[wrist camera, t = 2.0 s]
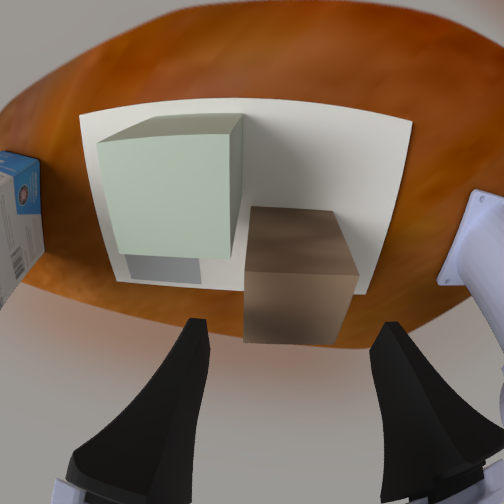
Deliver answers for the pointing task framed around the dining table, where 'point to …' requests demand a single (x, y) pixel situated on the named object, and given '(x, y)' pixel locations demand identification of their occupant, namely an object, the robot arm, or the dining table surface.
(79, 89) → the dining table surface
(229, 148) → the sage block
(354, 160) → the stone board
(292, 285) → the walnut block
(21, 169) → the ink box
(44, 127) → the dining table surface
